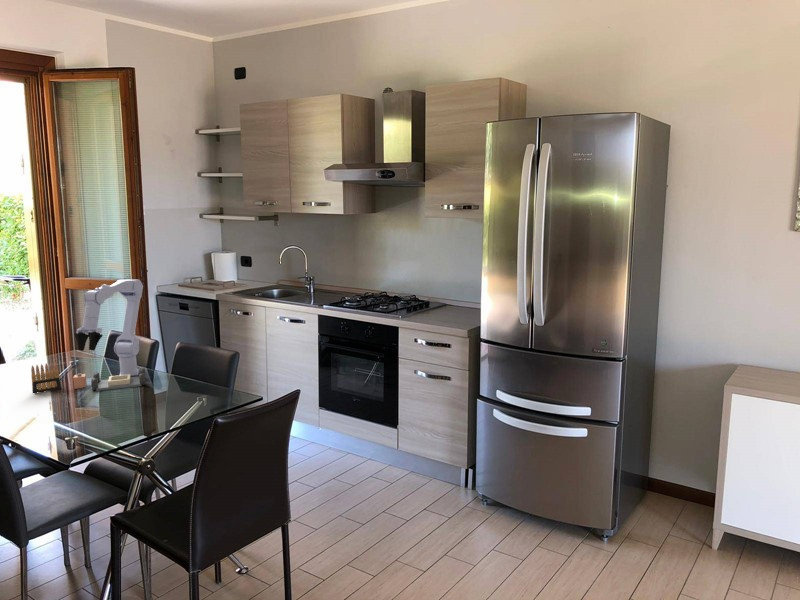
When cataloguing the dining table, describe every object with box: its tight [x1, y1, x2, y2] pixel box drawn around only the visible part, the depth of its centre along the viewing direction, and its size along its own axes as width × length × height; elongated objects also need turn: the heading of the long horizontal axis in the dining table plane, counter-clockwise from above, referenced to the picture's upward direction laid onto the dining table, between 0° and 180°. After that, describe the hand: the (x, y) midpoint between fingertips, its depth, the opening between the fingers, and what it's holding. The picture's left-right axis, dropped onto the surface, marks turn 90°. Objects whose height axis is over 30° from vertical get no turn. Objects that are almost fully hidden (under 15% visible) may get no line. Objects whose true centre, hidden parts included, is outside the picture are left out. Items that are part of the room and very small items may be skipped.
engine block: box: [72, 373, 88, 390], centre depth 289 cm, size 4×4×6 cm
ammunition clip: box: [30, 361, 62, 394], centre depth 284 cm, size 11×2×12 cm, turn 127°
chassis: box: [90, 367, 147, 392], centre depth 292 cm, size 14×21×5 cm, turn 109°
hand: (86, 350), depth 279 cm, fingers open, 7 cm apart
